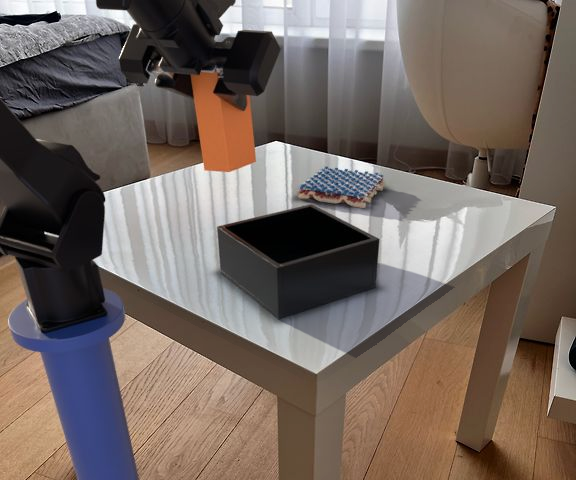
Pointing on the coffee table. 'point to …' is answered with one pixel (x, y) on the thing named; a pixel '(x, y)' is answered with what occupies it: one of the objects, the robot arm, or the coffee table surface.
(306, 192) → the woven mat
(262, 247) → the bin
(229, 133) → the block
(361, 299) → the coffee table surface
